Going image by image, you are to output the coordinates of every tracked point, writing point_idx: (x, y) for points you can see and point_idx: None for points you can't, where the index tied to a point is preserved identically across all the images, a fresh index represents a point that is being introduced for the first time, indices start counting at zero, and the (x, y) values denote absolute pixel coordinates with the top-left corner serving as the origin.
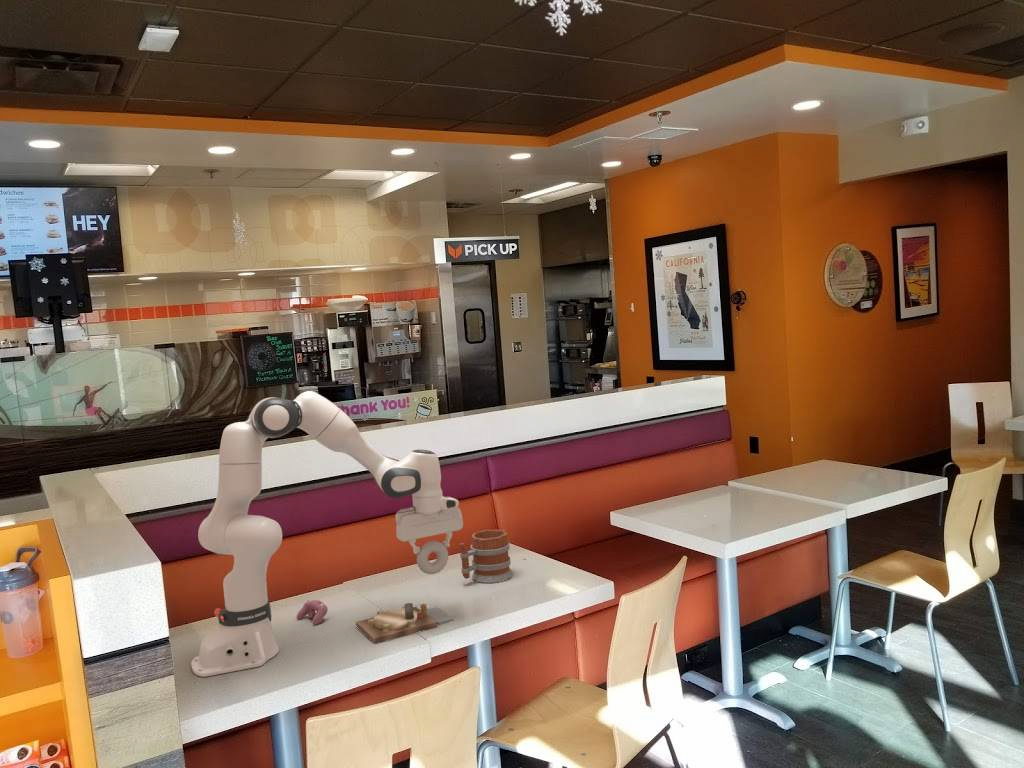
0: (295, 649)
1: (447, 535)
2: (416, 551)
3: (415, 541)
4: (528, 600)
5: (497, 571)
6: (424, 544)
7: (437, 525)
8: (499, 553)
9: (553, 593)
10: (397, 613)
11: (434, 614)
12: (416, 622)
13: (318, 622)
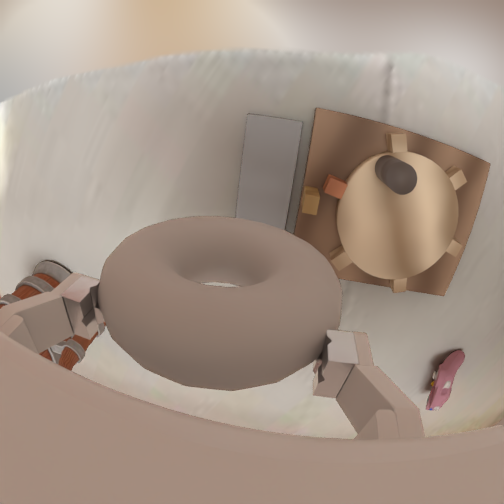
0: None
1: (36, 343)
2: (362, 342)
3: (381, 419)
4: (51, 116)
5: (45, 279)
6: (261, 377)
7: (19, 461)
8: (14, 296)
9: (13, 124)
10: (385, 235)
11: (272, 190)
12: (364, 158)
13: (455, 352)
